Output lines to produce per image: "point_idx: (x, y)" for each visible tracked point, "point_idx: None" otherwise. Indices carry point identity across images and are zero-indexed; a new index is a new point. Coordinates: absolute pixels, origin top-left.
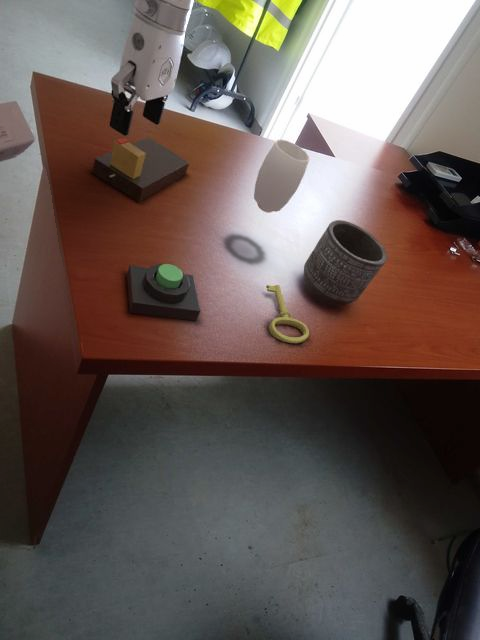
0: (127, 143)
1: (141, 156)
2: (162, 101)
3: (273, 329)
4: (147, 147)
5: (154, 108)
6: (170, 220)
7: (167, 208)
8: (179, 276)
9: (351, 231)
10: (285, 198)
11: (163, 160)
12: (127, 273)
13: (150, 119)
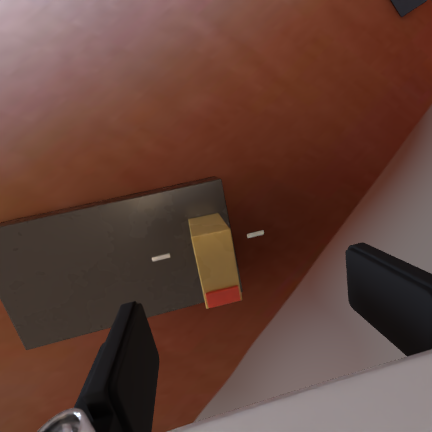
0: (212, 286)
1: (213, 230)
2: (96, 407)
3: None
4: (70, 311)
5: (138, 371)
6: (192, 98)
7: (164, 134)
8: None
9: None
10: None
11: (63, 258)
12: (408, 12)
13: (148, 331)
